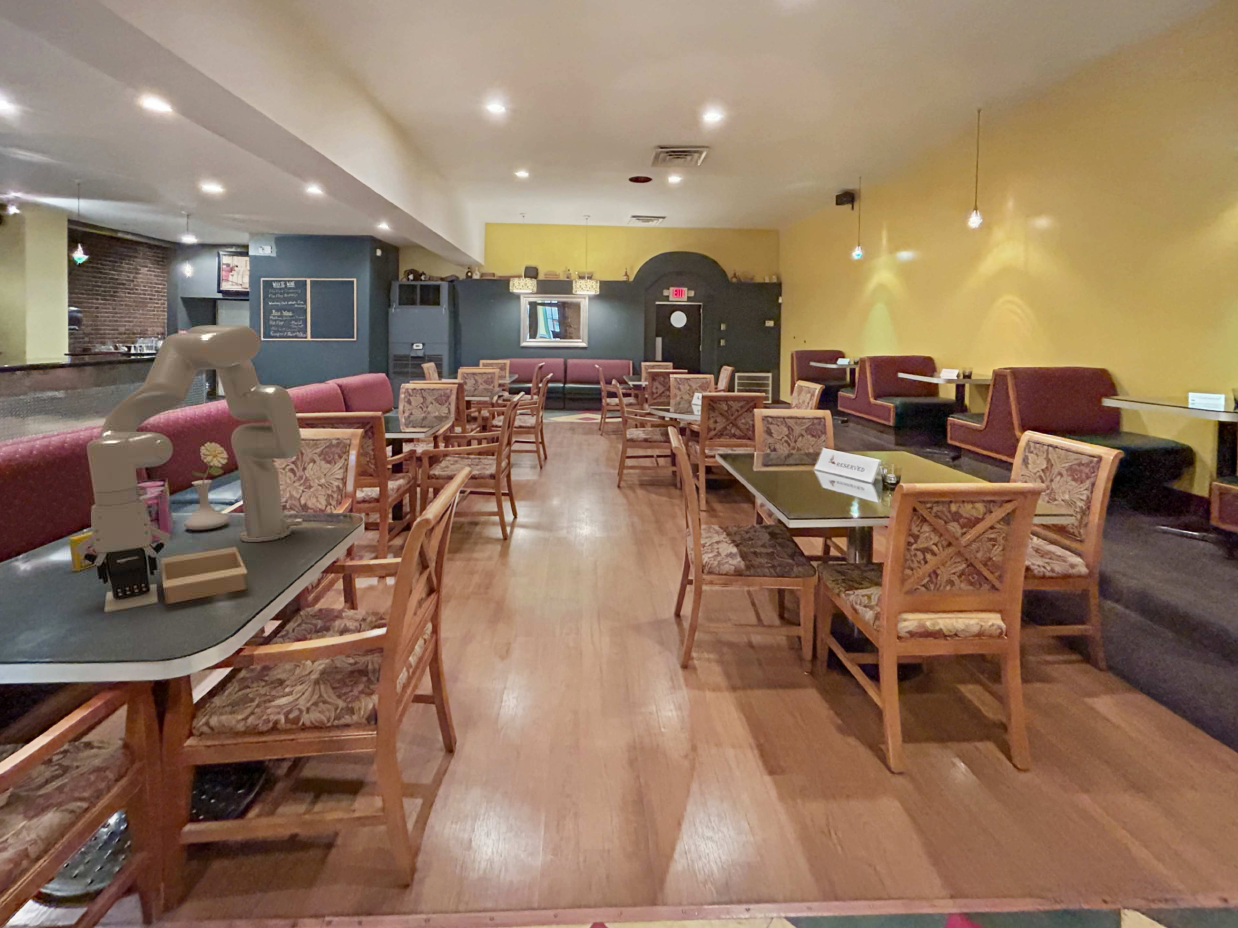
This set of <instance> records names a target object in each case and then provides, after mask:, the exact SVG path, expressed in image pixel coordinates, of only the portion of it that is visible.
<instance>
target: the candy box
mask: <svg viewBox="0 0 1238 928" xmlns="http://www.w3.org/2000/svg"><path fill="white" fill-rule="evenodd" d="M91 535H92V531H90V532H86V533H84V534H83V533H82V534H80V535H76V536H72V537H69V538H68V539H69V540H68V541H69V542H68V543H69V549H70V555H71V557H70V558H71V568H72V571H73V572H80V570H81V571H84V570H87V569H90V568H92V566H93V567H95V564H93V563H91V562H90V561H88V560H86V559H85V558H84V557H82V556H81V555H79V554H78V553H77V552H75V548H76V547H77V546H78V545H79V544H81V543H82V542H83V541H84V540H86V539H87V538H88V537H89V536H91ZM86 550H87V551H88V552H90V553H92V554H94V555H96V556H97V555H98V553H97V552H96V551H95V549H94V545H93V543H92V544H91V545H89V546H88V547H87V548H86ZM104 562H105V558H104ZM89 567H90V568H89ZM86 568H87V569H86ZM83 569H84V570H83Z"/></svg>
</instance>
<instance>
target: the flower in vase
mask: <svg viewBox="0 0 1238 928" xmlns="http://www.w3.org/2000/svg"><path fill="white" fill-rule="evenodd" d="M199 451H200V453H199V454H200V456H201V458H200V459H201V460H202V461H203V462H204V463H206V465H207V466H208V468H207V470H206V473H200V472H196V471H193V470H192V474H193V475H194V476H196V477H201V478H203V479H202V480H195V481H192V482H191V484H192V485H193V486H194V487H195V488H196V491H197V494H198V499H199V506H198V508H197V509H196V511H194V512H193V513H192V514H191V515H190V516H189V517H188V518H187V519H186V520H185V521H184V523H183V526H184V528H186V529H187V530H193V531H202V530H203V531H206V530H212V529H216V528H220V527H222V526H224V525H226V524H228V523H229V521H230V518H229V517H228V516H227V515H226V514H225V513H222V511H219V510H217V509H215V508H214V507H212V506H211V504H210V501H209V488H210V486H211V484H212V481H213V480H212V479H206V478H207V476H208V473H210V474H211V475H213V476H218V475H219V476H220V475H221V474H223V473H224V470H223V469H221V468H222V466H223V465H225V464H226V463H227V462H228V459H227V458H229V455H228V453H227V451H226V450H225V449H224V447H222V446H221V445H220V444H219V443H215V442H212V443H211V442H209V441H208V442H207V443H205V444H204V446H203V445H202V446H201V447H200V450H199ZM211 466H212V467H211ZM210 467H211V468H210Z"/></svg>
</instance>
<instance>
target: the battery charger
mask: <svg viewBox="0 0 1238 928" xmlns="http://www.w3.org/2000/svg"><path fill="white" fill-rule="evenodd" d="M105 562H106V568H107V574H108V581H109V584H110V589H111V592H112V596H113V598H115V599H123V598H128V597H132V596H137V595H141V594H144V593H147V592H149V591H150V585H151V584H150V579H149V574H148V572H149V570H148V558H147V555H146V551H145V550H144V549H143V548H139V549H132V550H126V551H118V552H111V553H107V554H106V556H105Z"/></svg>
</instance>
